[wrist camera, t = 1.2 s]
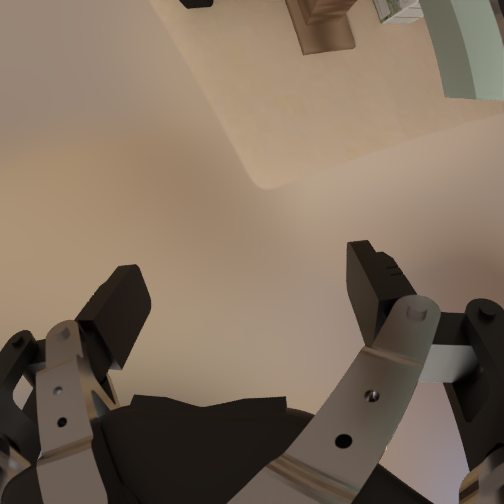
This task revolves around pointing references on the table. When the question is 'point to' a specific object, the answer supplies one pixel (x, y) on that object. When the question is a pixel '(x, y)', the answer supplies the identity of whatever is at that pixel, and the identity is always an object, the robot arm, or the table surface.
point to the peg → (466, 47)
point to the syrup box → (398, 11)
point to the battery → (196, 3)
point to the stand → (321, 24)
